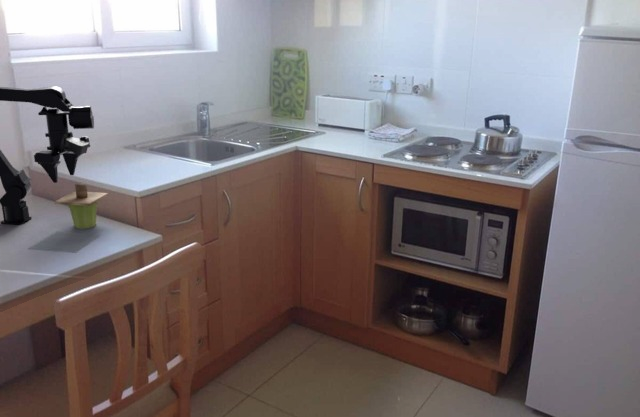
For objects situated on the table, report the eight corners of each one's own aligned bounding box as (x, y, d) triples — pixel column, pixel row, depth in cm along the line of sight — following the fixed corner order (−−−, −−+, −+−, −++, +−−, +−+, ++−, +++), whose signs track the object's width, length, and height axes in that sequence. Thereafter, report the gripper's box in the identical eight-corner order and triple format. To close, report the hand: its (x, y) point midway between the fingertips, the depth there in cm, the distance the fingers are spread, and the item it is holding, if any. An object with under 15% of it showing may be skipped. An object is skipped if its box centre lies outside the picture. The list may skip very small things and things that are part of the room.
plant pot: (107, 222, 182) (104, 195, 179) (92, 232, 173) (90, 204, 170) (78, 220, 182) (75, 194, 180) (63, 230, 173) (59, 203, 171)
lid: (55, 203, 170) (53, 188, 169) (75, 193, 181) (73, 178, 179) (90, 206, 169) (88, 190, 167) (108, 195, 179) (106, 180, 178)
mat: (28, 250, 158) (27, 248, 158) (57, 232, 171) (57, 231, 171) (75, 254, 157) (75, 252, 156) (101, 236, 170) (101, 234, 170)
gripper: (65, 136, 165) (71, 188, 170) (98, 125, 183) (103, 173, 188) (29, 134, 167) (36, 186, 172) (65, 123, 185) (71, 171, 189)
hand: (64, 178), depth 180 cm, fingers open, 9 cm apart
